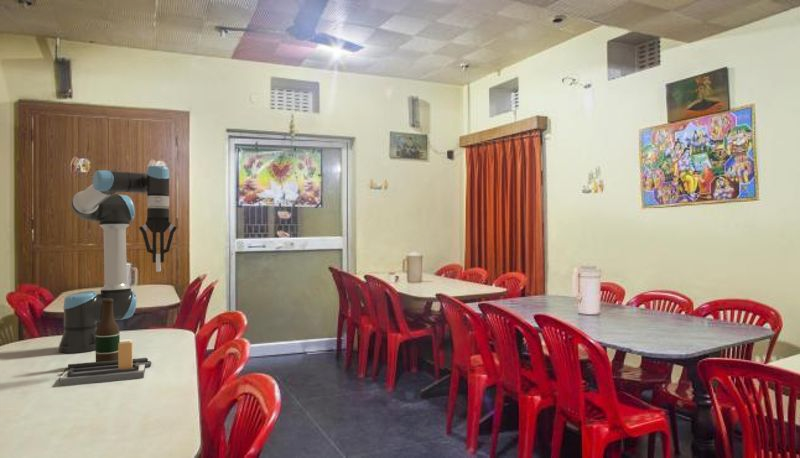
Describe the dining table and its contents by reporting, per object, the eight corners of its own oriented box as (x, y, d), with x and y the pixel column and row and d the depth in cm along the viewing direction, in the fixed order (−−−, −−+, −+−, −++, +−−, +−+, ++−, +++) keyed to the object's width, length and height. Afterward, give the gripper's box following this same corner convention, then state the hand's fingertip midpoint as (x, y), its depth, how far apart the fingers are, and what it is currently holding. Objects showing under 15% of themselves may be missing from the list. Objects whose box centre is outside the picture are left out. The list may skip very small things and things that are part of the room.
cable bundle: (63, 375, 184) (63, 365, 184) (65, 372, 188) (65, 363, 188) (151, 367, 195) (151, 358, 195) (151, 365, 198) (151, 356, 198)
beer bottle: (109, 367, 195) (109, 300, 195) (90, 366, 197) (90, 299, 197) (124, 361, 203) (124, 297, 203) (106, 360, 204) (106, 297, 204)
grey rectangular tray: (66, 376, 183) (66, 366, 183) (145, 369, 192) (145, 359, 192) (59, 386, 172) (59, 375, 172) (143, 377, 181) (143, 367, 181)
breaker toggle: (119, 368, 185) (119, 339, 185) (132, 366, 187) (132, 338, 187) (118, 370, 182) (118, 342, 182) (131, 369, 183) (131, 341, 183)
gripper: (137, 207, 196) (138, 272, 196) (177, 207, 200) (177, 271, 200) (139, 207, 203) (139, 271, 203) (177, 208, 207) (177, 270, 207)
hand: (158, 271), depth 202 cm, fingers closed
